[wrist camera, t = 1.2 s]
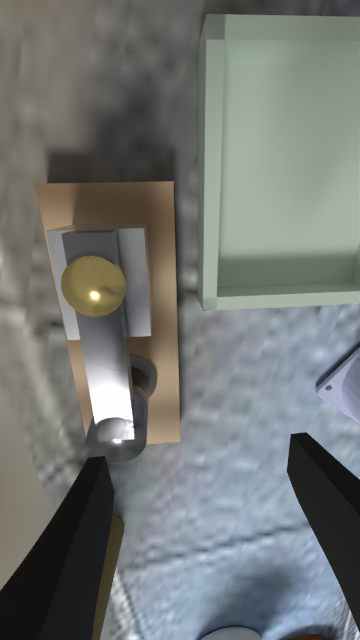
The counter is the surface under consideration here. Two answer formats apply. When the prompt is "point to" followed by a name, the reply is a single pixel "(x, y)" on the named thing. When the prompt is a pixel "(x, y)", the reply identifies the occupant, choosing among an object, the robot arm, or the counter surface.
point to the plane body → (162, 346)
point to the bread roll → (309, 637)
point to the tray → (278, 161)
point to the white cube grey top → (131, 264)
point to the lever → (105, 344)
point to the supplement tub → (233, 634)
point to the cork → (108, 574)
